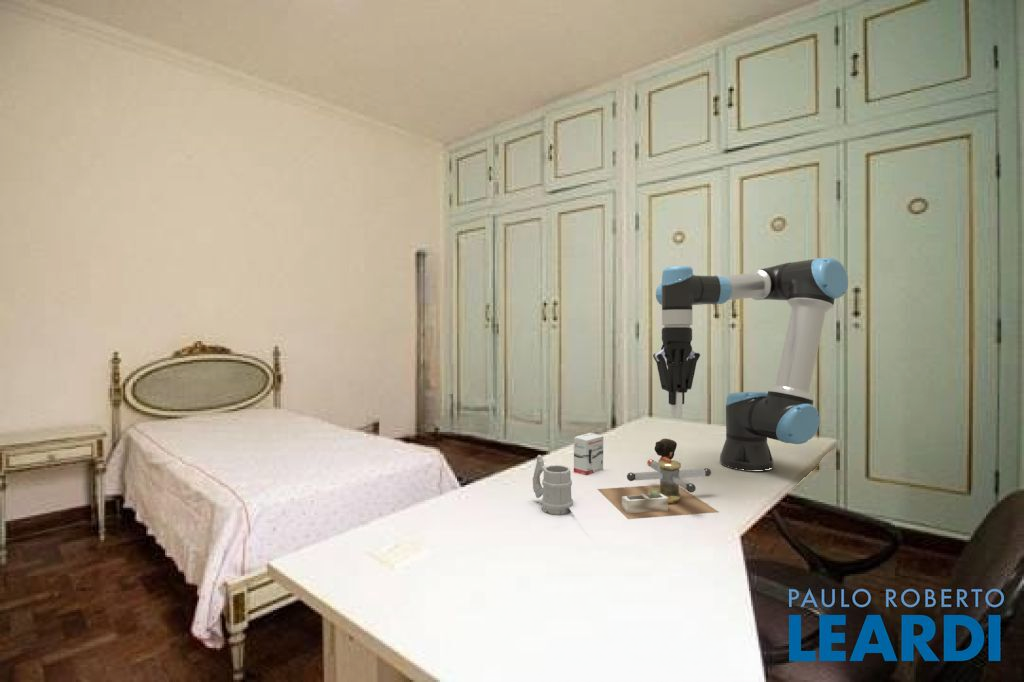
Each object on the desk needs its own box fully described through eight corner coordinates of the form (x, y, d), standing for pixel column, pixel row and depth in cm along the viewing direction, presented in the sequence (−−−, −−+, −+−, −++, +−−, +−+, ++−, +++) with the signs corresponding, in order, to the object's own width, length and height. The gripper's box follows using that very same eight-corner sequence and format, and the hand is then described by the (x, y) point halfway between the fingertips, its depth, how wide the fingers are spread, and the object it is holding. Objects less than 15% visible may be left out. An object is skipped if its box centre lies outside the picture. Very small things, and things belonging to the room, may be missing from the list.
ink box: (586, 480, 138) (586, 439, 138) (573, 477, 142) (572, 436, 142) (604, 474, 144) (604, 434, 144) (590, 470, 148) (590, 432, 147)
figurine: (672, 486, 133) (672, 442, 133) (652, 482, 137) (652, 439, 136) (680, 480, 138) (680, 438, 138) (660, 476, 142) (660, 435, 141)
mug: (558, 518, 112) (558, 466, 111) (522, 504, 120) (522, 456, 120) (579, 509, 117) (579, 460, 116) (544, 497, 126) (543, 451, 125)
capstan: (687, 480, 132) (687, 447, 132) (737, 511, 110) (738, 471, 110) (610, 485, 128) (610, 451, 128) (647, 518, 107) (647, 476, 106)
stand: (675, 489, 130) (675, 468, 130) (719, 518, 111) (719, 493, 111) (597, 494, 127) (597, 472, 127) (628, 525, 107) (628, 499, 107)
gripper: (688, 326, 131) (688, 413, 132) (646, 326, 127) (646, 416, 128) (707, 326, 124) (707, 418, 125) (663, 326, 120) (663, 421, 121)
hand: (676, 417), depth 126 cm, fingers closed
